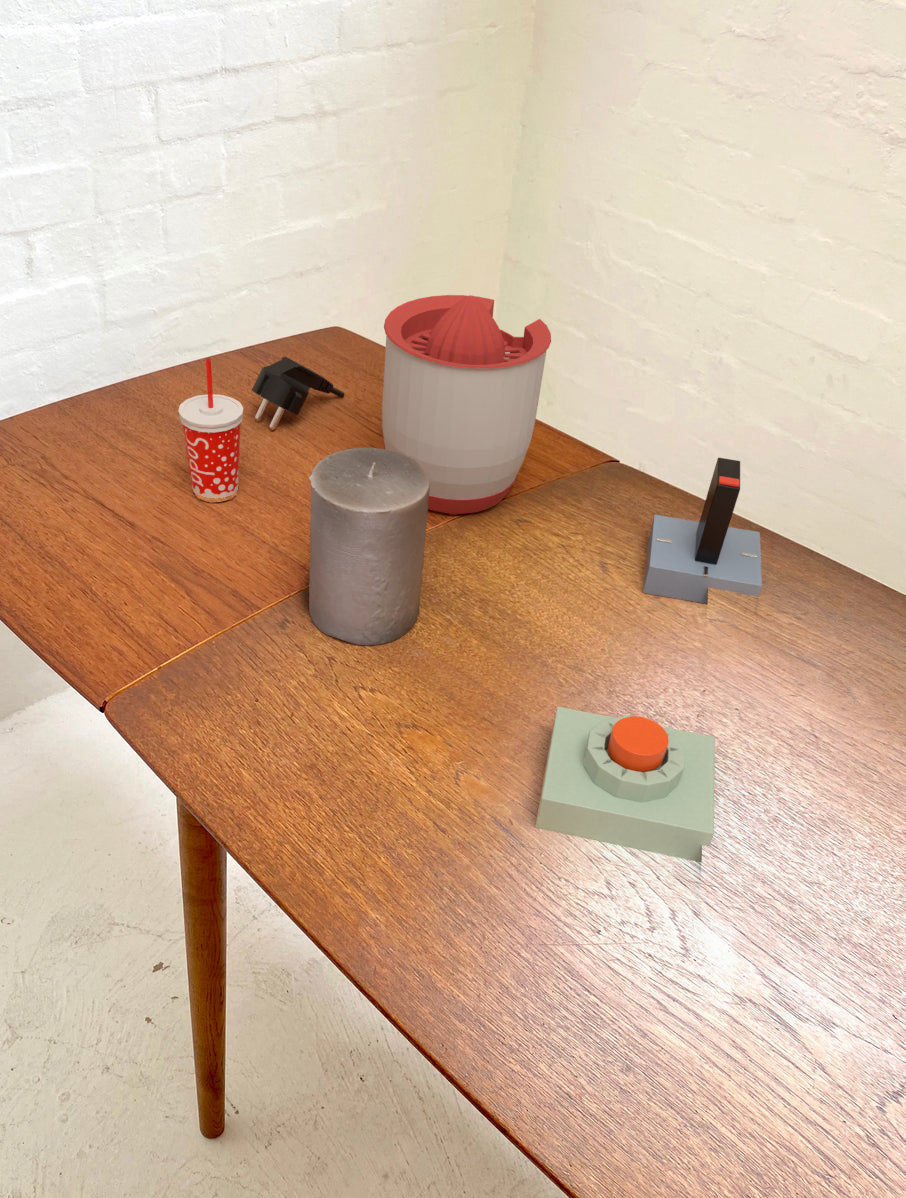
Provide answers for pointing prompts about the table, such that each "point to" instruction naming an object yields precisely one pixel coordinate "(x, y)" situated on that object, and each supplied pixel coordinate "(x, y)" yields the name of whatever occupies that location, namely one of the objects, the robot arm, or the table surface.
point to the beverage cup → (212, 441)
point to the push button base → (628, 789)
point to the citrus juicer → (461, 397)
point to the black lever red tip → (717, 510)
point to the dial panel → (690, 579)
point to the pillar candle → (367, 544)
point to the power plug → (288, 388)
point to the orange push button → (638, 744)
